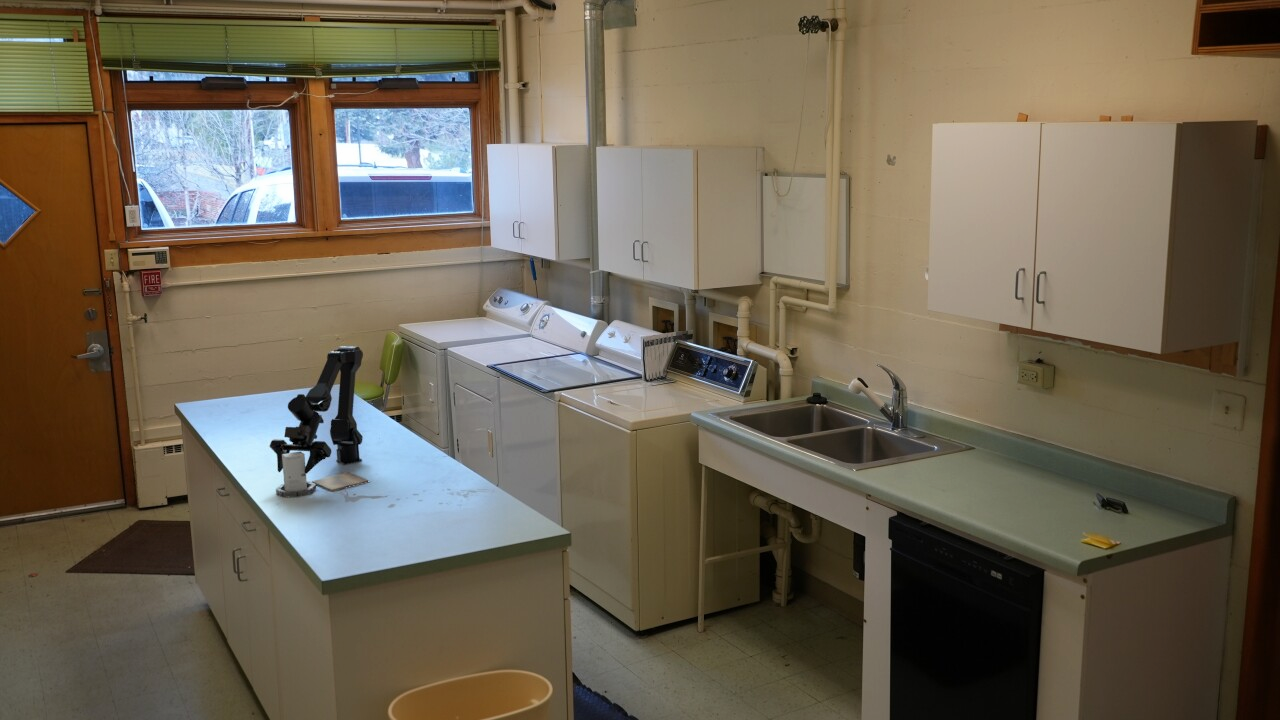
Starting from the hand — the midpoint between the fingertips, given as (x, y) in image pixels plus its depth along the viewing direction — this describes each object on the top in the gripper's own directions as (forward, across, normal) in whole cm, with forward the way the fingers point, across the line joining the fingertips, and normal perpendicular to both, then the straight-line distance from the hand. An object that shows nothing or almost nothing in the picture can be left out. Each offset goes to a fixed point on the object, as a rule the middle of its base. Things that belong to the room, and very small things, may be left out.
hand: (292, 472), depth 342 cm
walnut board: (-4, +9, +13) cm, 17 cm away
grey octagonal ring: (+4, 0, +6) cm, 7 cm away
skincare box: (+4, 0, +6) cm, 7 cm away
